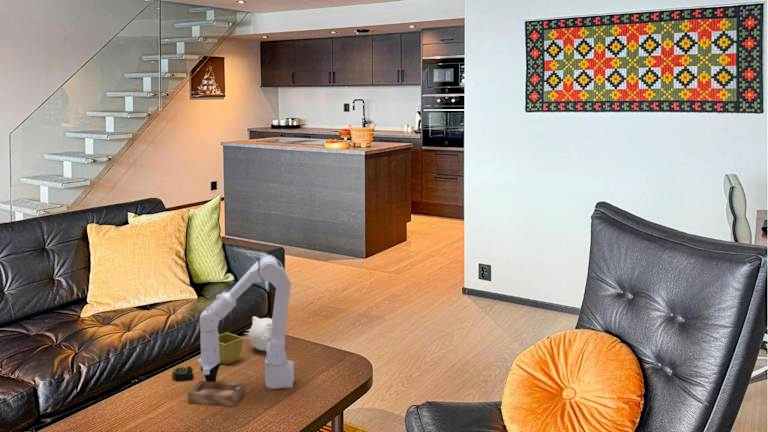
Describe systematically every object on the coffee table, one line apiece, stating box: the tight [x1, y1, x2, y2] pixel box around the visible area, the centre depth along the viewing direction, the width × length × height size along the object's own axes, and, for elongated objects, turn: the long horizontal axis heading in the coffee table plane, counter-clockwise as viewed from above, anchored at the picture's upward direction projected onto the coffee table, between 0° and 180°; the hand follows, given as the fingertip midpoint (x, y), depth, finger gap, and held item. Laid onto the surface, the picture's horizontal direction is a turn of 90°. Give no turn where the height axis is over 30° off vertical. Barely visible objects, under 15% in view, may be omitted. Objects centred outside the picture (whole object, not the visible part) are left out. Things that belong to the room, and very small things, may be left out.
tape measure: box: [171, 366, 195, 382], centre depth 227 cm, size 7×7×4 cm
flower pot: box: [219, 332, 244, 366], centre depth 242 cm, size 9×9×9 cm
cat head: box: [243, 316, 272, 352], centre depth 253 cm, size 15×13×12 cm
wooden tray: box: [187, 380, 246, 407], centre depth 212 cm, size 15×9×4 cm, turn 83°
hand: (211, 386), depth 219 cm, fingers closed
